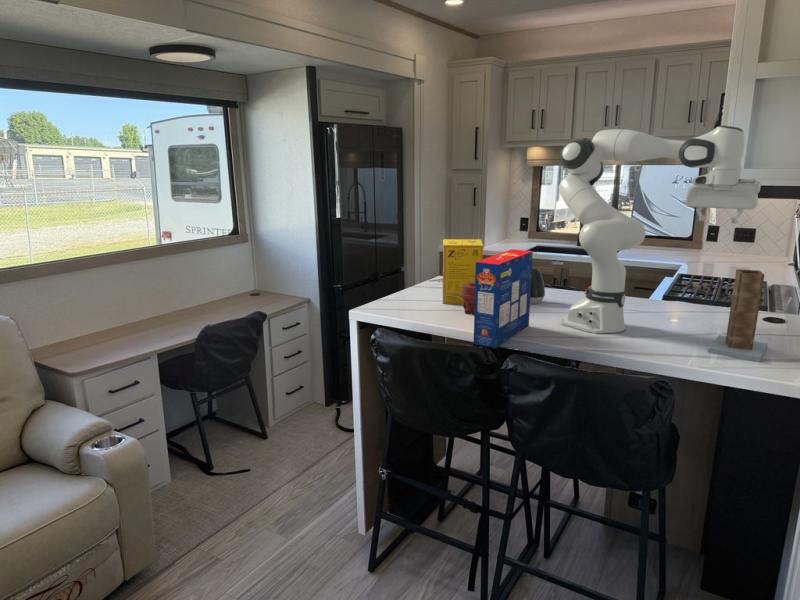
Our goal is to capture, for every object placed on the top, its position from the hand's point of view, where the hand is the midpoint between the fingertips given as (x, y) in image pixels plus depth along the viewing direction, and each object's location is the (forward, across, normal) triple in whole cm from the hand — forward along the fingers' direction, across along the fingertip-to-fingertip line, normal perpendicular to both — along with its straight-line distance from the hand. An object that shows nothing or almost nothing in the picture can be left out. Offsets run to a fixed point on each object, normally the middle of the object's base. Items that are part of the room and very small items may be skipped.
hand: (717, 222), depth 180 cm
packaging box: (+39, +93, +8) cm, 101 cm away
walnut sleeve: (+38, -12, +8) cm, 40 cm away
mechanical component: (+39, +78, +23) cm, 90 cm away
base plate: (+39, -12, +8) cm, 42 cm away
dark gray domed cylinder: (+39, +66, -5) cm, 77 cm away
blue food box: (+39, +55, +40) cm, 79 cm away
